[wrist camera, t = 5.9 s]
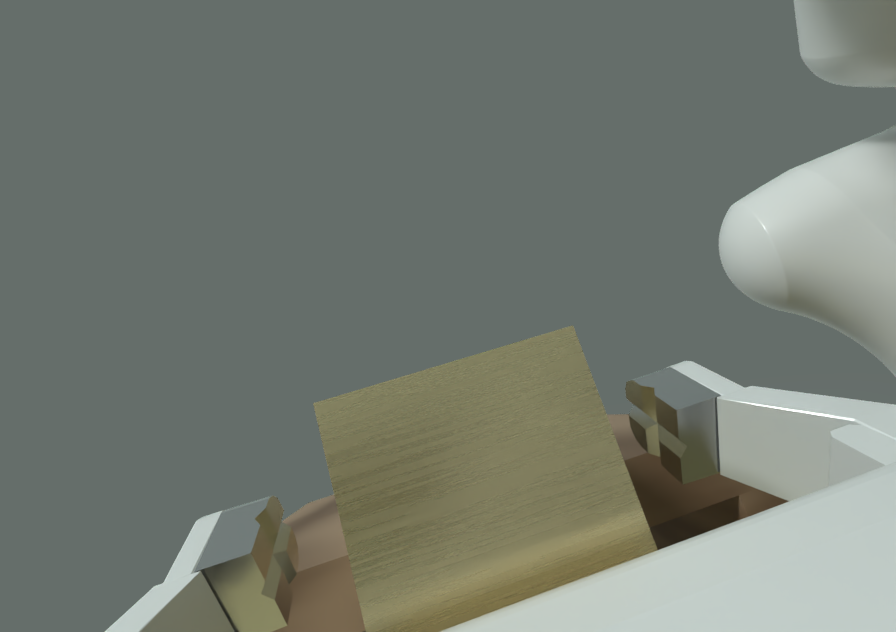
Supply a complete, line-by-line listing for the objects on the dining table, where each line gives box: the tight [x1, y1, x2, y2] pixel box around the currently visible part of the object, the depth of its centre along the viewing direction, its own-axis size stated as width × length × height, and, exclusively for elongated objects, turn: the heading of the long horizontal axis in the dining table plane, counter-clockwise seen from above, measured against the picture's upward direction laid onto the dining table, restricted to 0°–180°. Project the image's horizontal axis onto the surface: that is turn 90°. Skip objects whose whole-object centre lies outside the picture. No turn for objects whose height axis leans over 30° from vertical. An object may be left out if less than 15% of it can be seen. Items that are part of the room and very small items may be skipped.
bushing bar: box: [314, 326, 658, 632], centre depth 16 cm, size 4×22×4 cm, turn 2°
